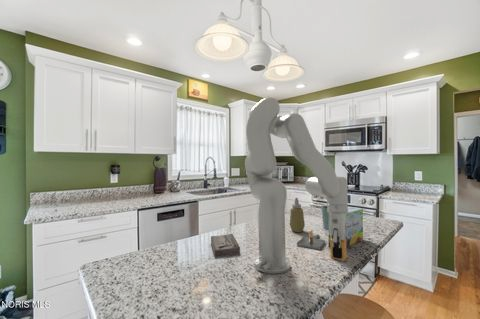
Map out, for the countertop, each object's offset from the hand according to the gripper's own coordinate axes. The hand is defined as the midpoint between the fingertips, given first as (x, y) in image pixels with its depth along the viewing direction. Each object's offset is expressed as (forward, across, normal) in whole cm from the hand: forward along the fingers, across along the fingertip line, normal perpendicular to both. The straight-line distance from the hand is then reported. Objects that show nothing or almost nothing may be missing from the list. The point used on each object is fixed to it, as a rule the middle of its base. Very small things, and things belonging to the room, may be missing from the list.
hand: (338, 254), depth 89 cm
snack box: (+1, +18, -1) cm, 18 cm away
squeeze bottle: (+1, +26, +25) cm, 36 cm away
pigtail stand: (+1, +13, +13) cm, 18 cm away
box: (+2, -14, +45) cm, 47 cm away
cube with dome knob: (+1, 0, 0) cm, 1 cm away
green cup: (+1, +40, +10) cm, 41 cm away
